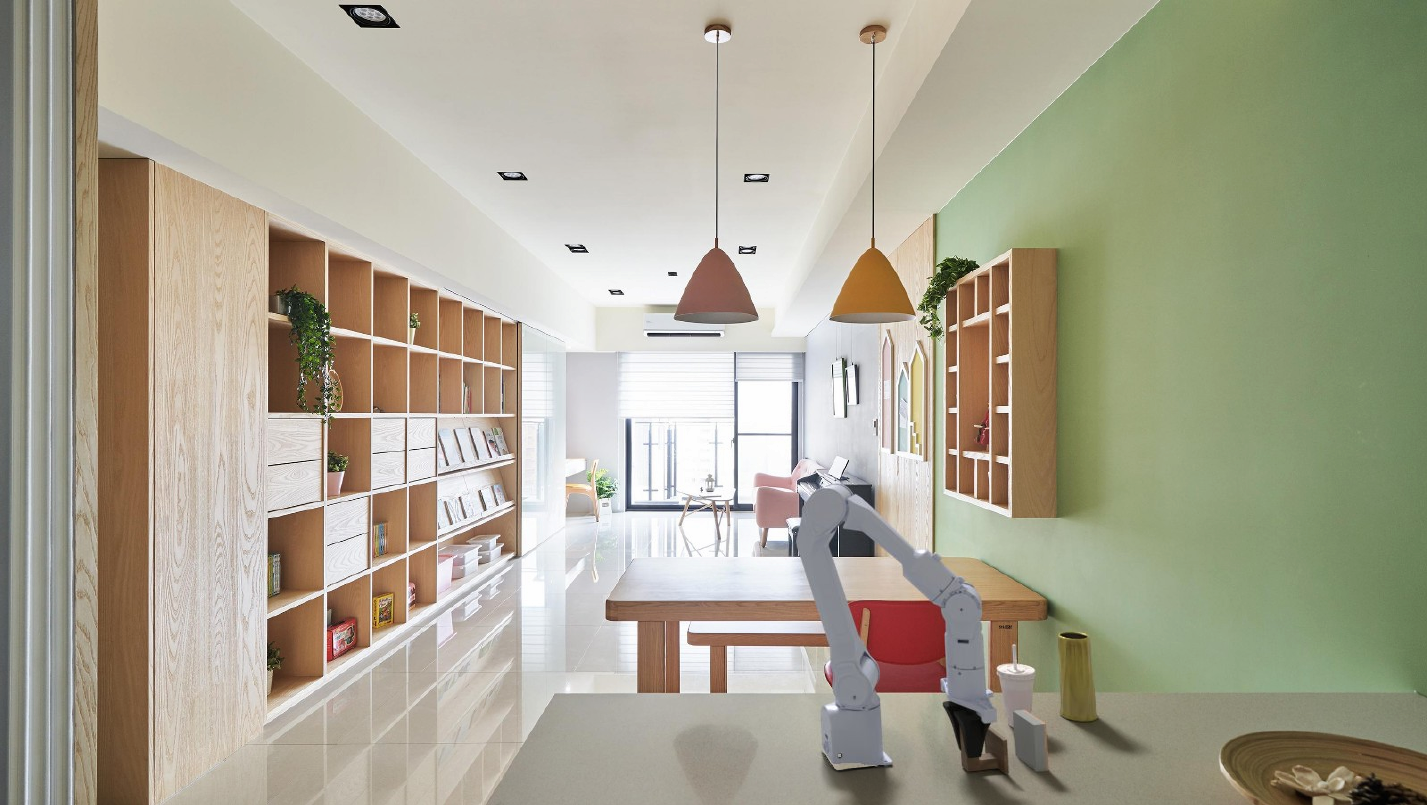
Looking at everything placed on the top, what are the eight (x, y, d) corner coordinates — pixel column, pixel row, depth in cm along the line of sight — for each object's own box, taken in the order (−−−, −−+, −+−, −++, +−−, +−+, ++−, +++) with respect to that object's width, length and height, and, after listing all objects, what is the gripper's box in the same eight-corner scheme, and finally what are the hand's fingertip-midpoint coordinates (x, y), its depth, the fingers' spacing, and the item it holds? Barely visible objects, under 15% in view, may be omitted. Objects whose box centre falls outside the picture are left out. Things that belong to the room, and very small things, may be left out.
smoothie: (997, 728, 132) (992, 647, 132) (1002, 715, 138) (997, 637, 138) (1037, 734, 129) (1032, 650, 129) (1040, 720, 135) (1035, 640, 135)
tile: (1036, 771, 115) (1033, 724, 116) (1015, 755, 121) (1012, 710, 122) (1048, 770, 116) (1045, 723, 116) (1027, 753, 122) (1024, 709, 122)
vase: (1062, 721, 134) (1057, 639, 134) (1057, 708, 140) (1052, 630, 140) (1100, 723, 132) (1095, 640, 133) (1094, 710, 138) (1089, 631, 139)
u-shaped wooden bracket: (974, 777, 114) (971, 733, 114) (955, 760, 120) (953, 718, 120) (1008, 773, 115) (1006, 729, 115) (989, 756, 121) (986, 715, 121)
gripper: (1014, 676, 111) (1019, 770, 111) (967, 648, 125) (972, 732, 125) (968, 680, 110) (974, 776, 110) (927, 652, 124) (931, 736, 124)
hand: (970, 753), depth 117 cm, fingers closed on u-shaped wooden bracket
